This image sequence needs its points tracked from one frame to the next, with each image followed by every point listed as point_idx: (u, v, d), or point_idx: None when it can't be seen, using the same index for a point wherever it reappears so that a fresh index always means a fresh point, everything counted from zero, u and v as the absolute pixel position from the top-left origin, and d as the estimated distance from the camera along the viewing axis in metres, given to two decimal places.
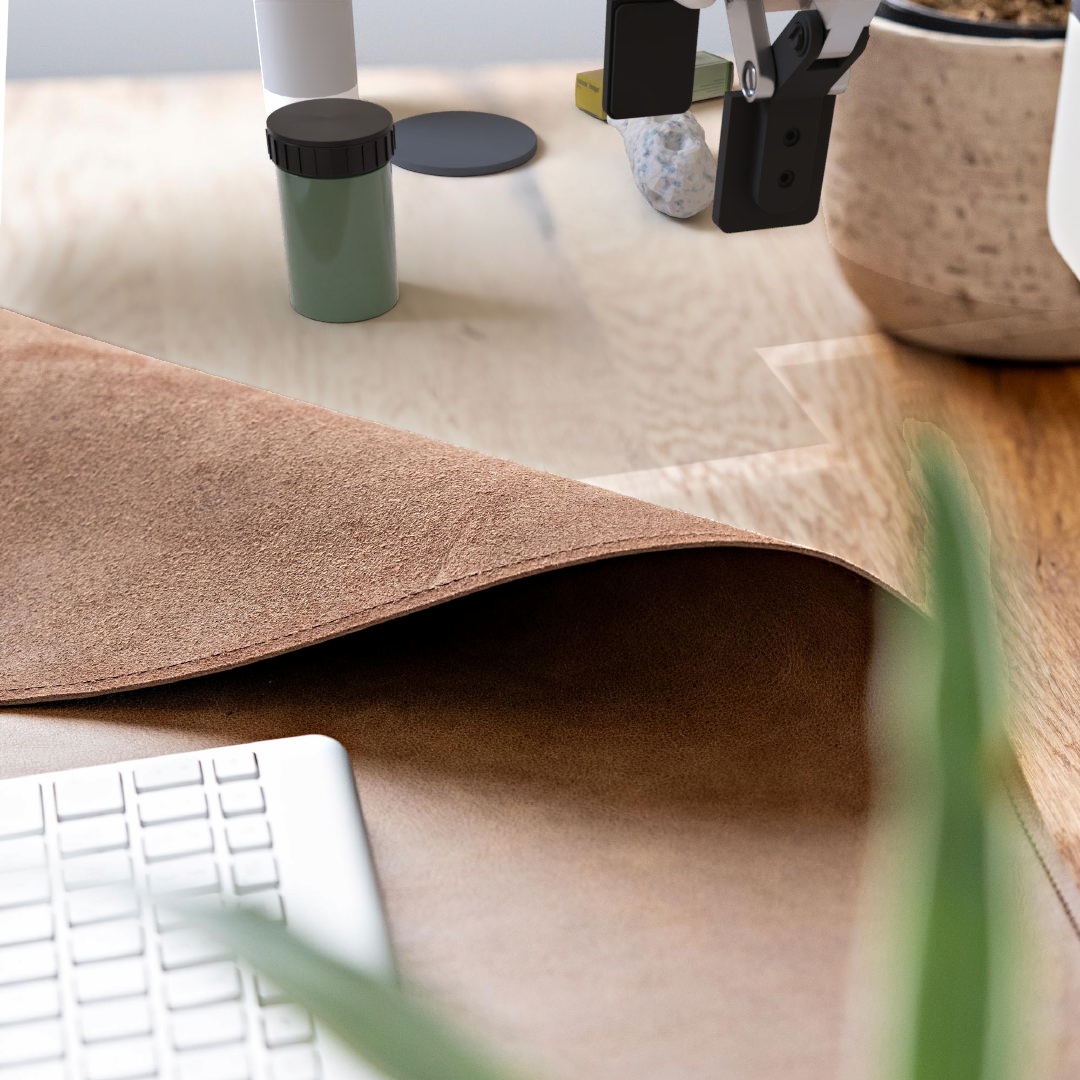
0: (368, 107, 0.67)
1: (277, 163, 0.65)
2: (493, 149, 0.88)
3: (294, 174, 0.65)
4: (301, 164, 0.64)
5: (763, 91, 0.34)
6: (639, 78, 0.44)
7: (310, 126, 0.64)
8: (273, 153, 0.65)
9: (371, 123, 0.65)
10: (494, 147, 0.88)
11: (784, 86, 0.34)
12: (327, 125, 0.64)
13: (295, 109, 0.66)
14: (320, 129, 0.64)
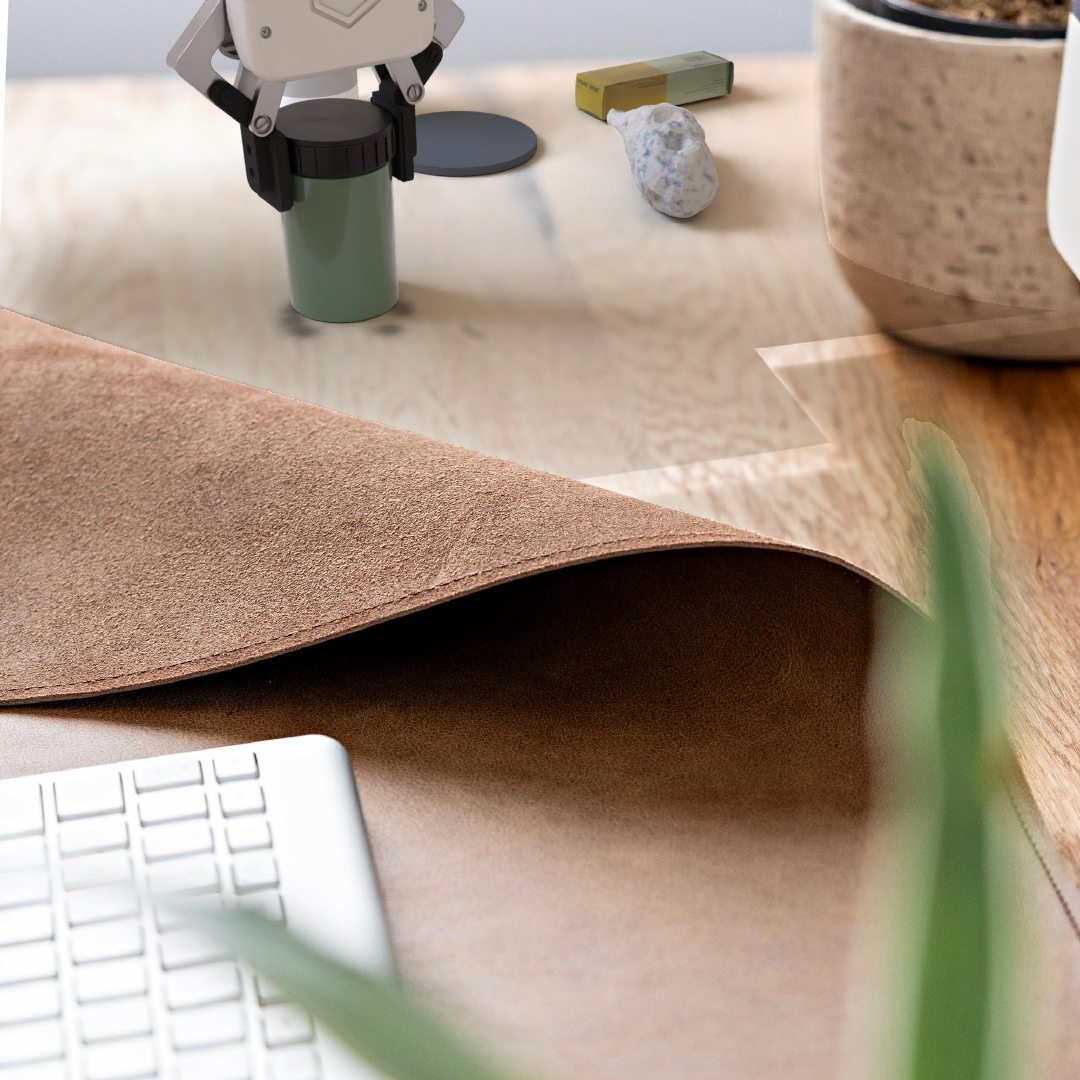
0: (368, 107, 0.67)
1: None
2: (493, 149, 0.88)
3: (294, 173, 0.65)
4: (301, 164, 0.64)
5: None
6: None
7: (310, 126, 0.64)
8: None
9: (371, 123, 0.65)
10: (494, 147, 0.88)
11: (423, 85, 0.67)
12: (327, 125, 0.64)
13: (295, 109, 0.66)
14: (320, 129, 0.64)
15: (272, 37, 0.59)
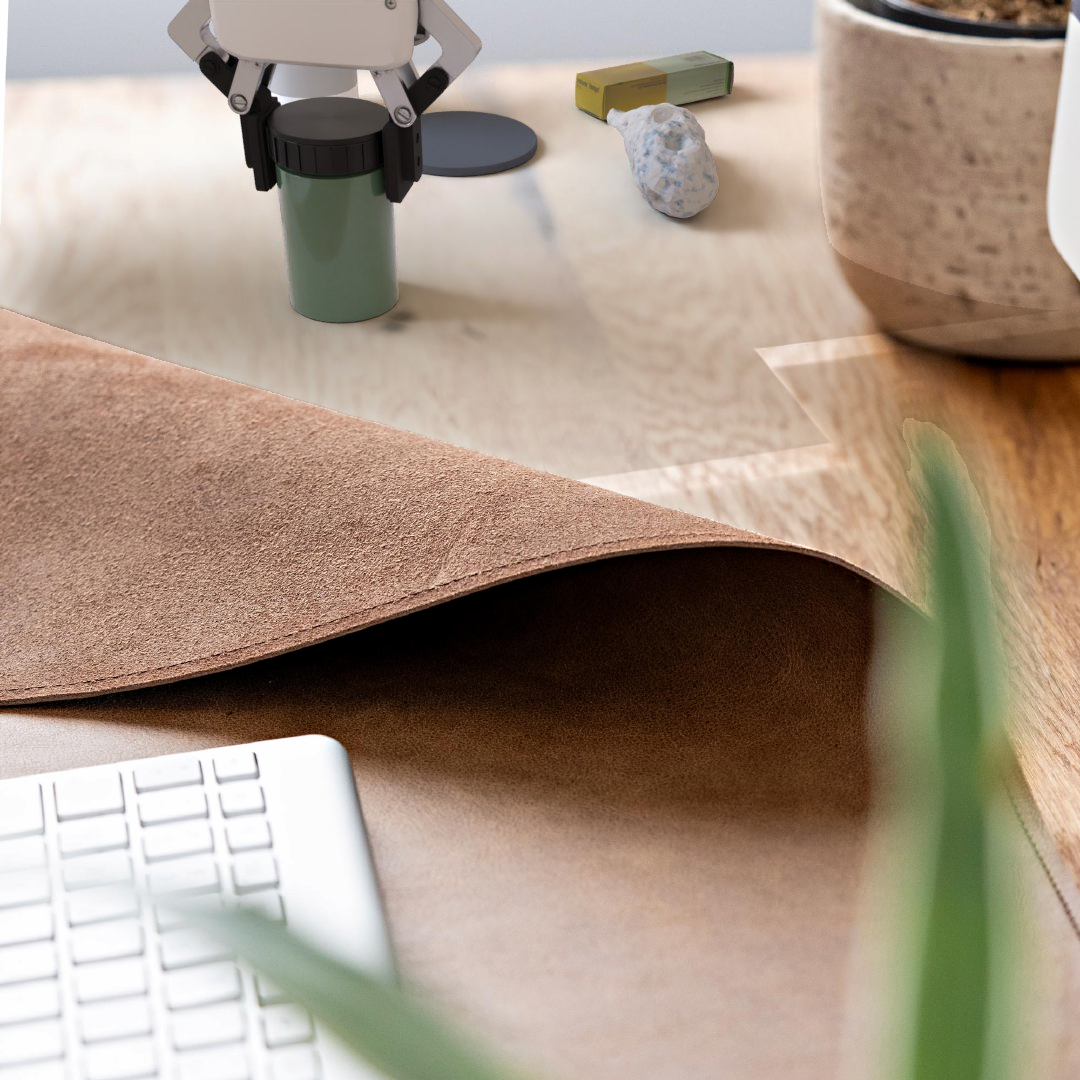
0: (282, 115, 0.65)
1: None
2: (493, 149, 0.88)
3: (294, 174, 0.65)
4: None
5: None
6: None
7: (357, 116, 0.65)
8: None
9: (313, 103, 0.67)
10: (494, 147, 0.88)
11: None
12: (345, 113, 0.66)
13: (332, 133, 0.63)
14: (357, 112, 0.66)
15: None
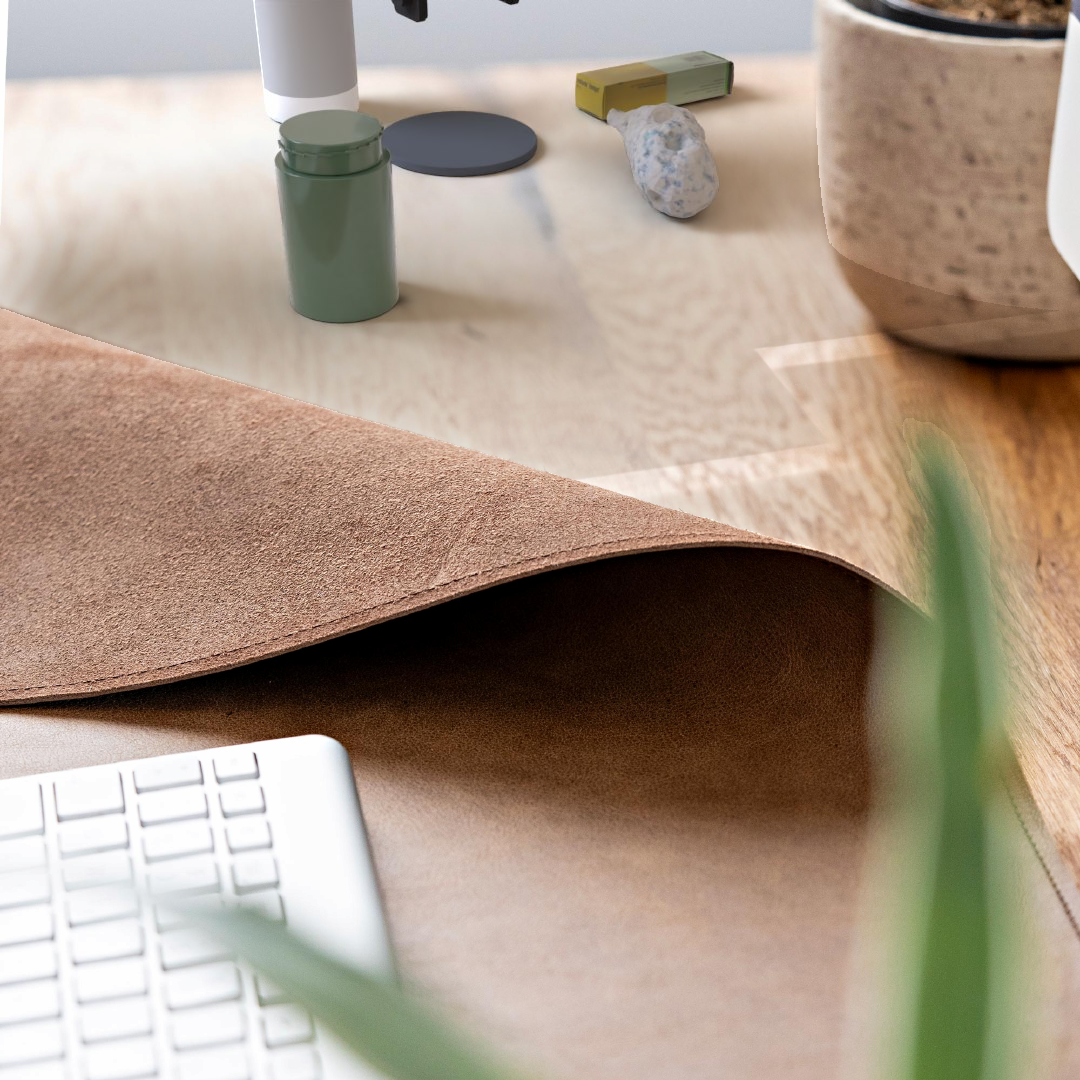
0: None
1: None
2: (493, 149, 0.88)
3: (294, 174, 0.65)
4: None
5: None
6: None
7: None
8: None
9: None
10: (494, 147, 0.88)
11: None
12: None
13: None
14: None
15: None
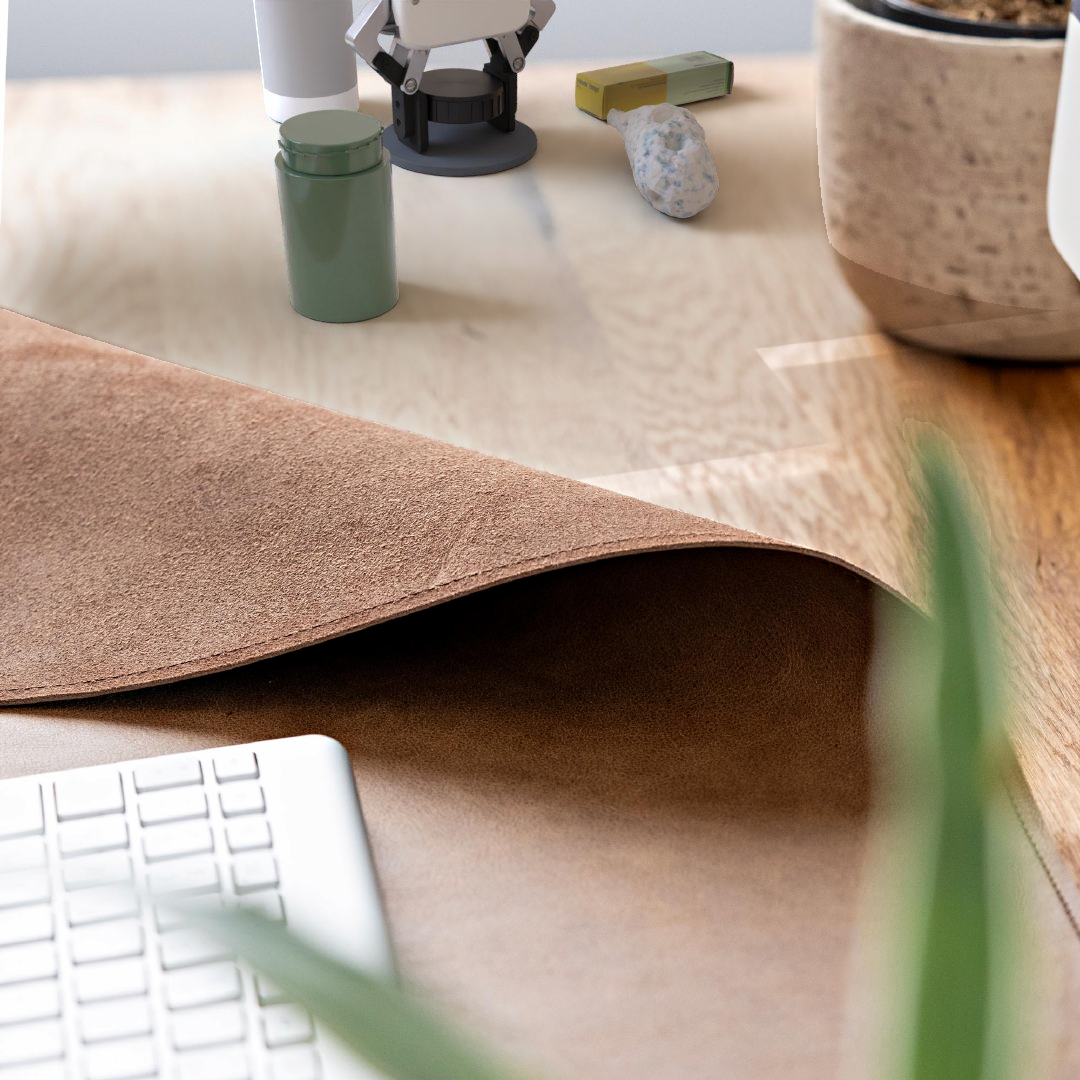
0: (428, 89, 0.86)
1: None
2: (493, 149, 0.88)
3: (294, 174, 0.65)
4: None
5: (384, 78, 0.85)
6: None
7: (469, 77, 0.88)
8: None
9: (424, 78, 0.87)
10: (494, 147, 0.88)
11: (383, 78, 0.85)
12: (456, 77, 0.88)
13: (484, 89, 0.86)
14: (461, 75, 0.88)
15: None
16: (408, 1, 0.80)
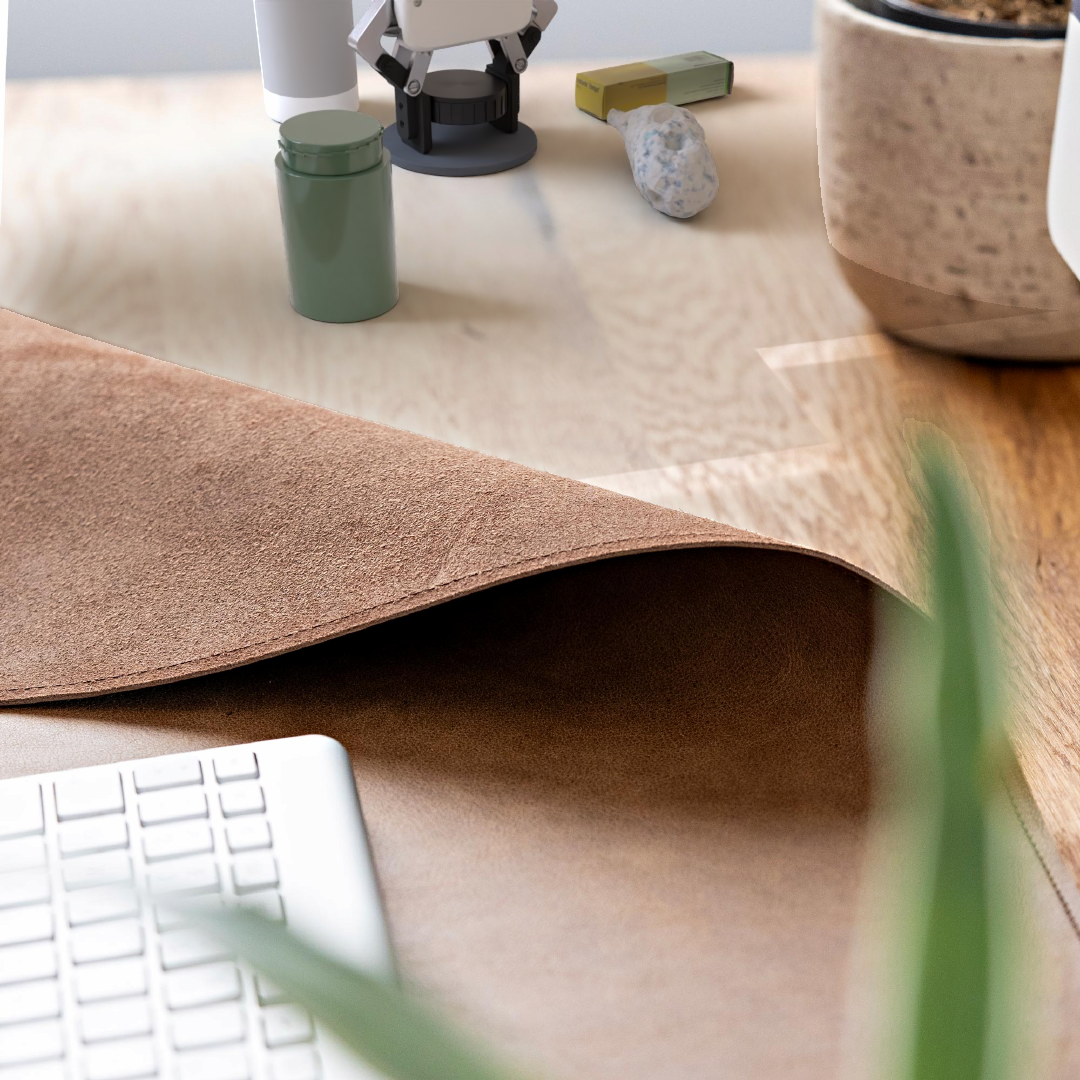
0: (431, 90, 0.86)
1: None
2: (493, 149, 0.88)
3: (294, 174, 0.65)
4: None
5: (388, 80, 0.85)
6: None
7: (471, 78, 0.88)
8: None
9: (427, 80, 0.88)
10: (494, 147, 0.88)
11: None
12: (459, 79, 0.88)
13: (486, 90, 0.86)
14: (463, 76, 0.88)
15: None
16: (410, 3, 0.80)
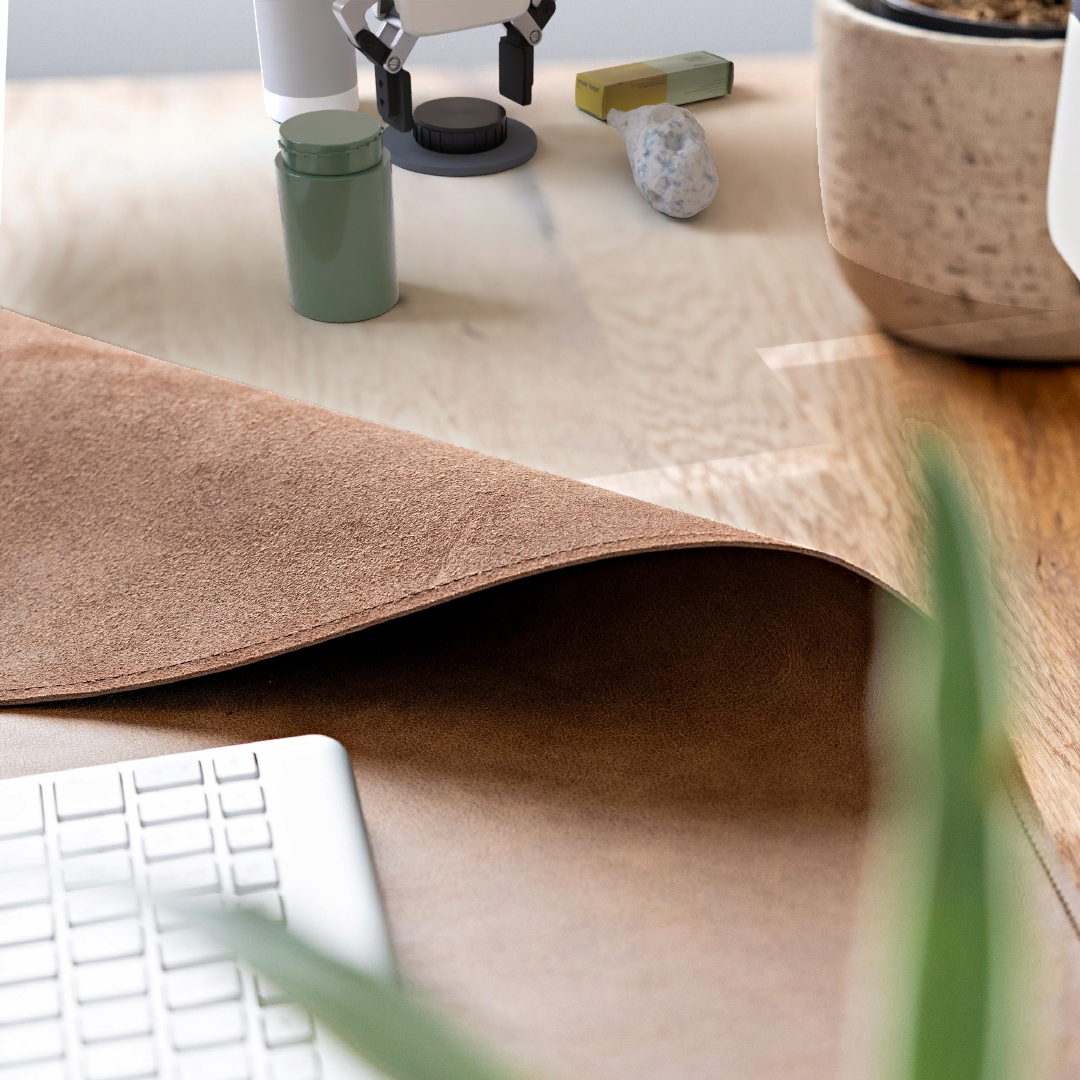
0: (432, 120, 0.87)
1: None
2: (493, 149, 0.88)
3: (294, 174, 0.65)
4: None
5: (367, 57, 0.84)
6: (506, 78, 0.90)
7: (472, 106, 0.89)
8: None
9: (428, 108, 0.89)
10: None
11: (366, 57, 0.83)
12: (460, 107, 0.89)
13: (487, 119, 0.87)
14: (464, 104, 0.89)
15: None
16: None
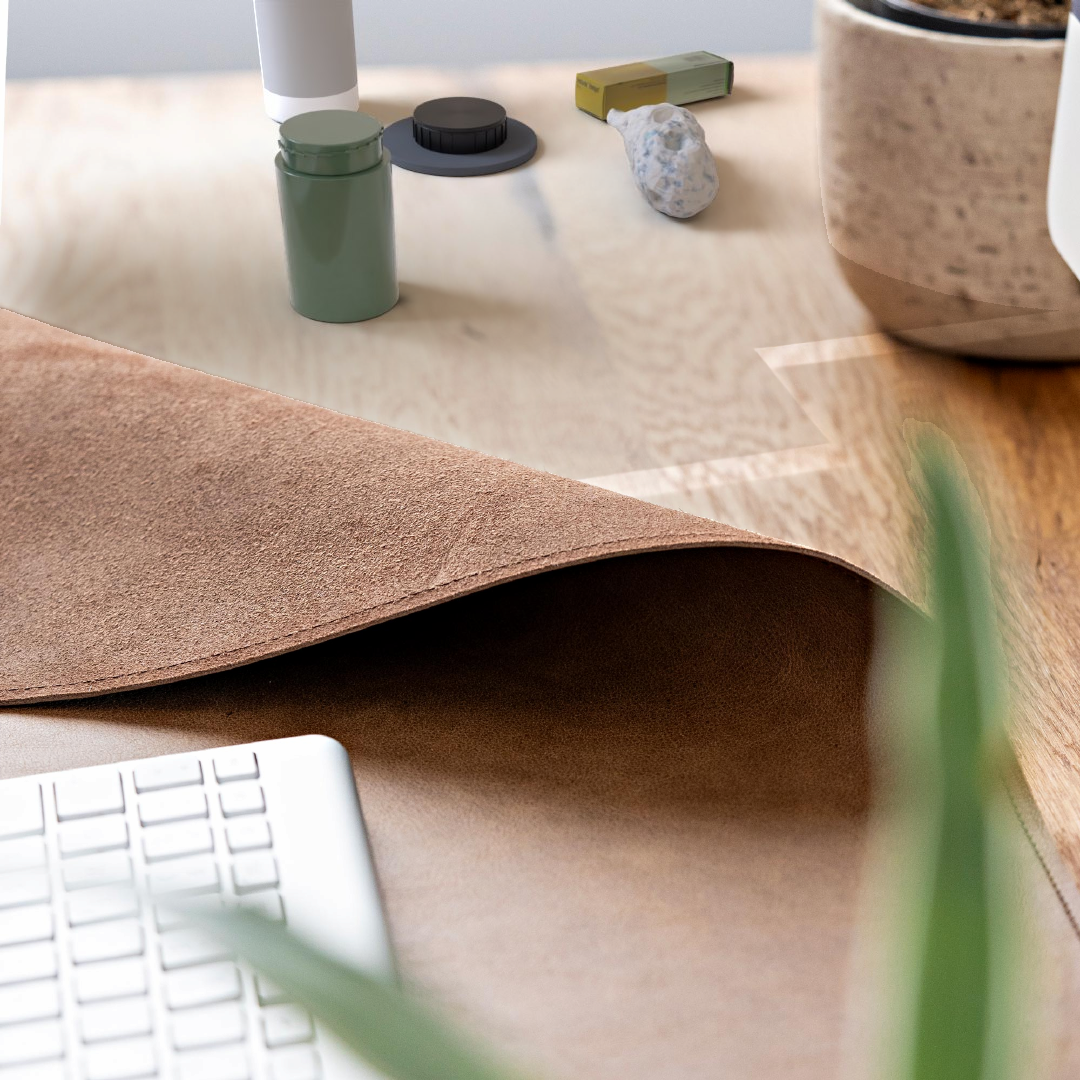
0: (432, 120, 0.87)
1: None
2: (493, 149, 0.88)
3: (294, 174, 0.65)
4: None
5: None
6: None
7: (472, 106, 0.89)
8: None
9: (428, 108, 0.89)
10: None
11: None
12: (460, 107, 0.89)
13: (487, 119, 0.87)
14: (464, 104, 0.89)
15: None
16: None
